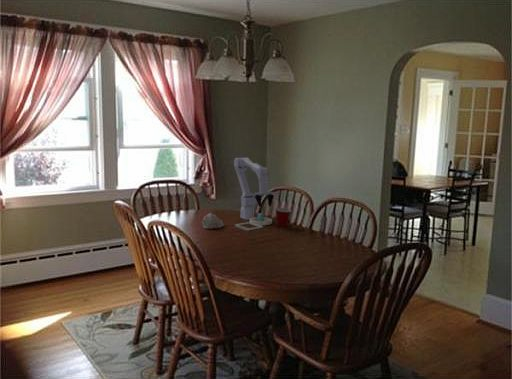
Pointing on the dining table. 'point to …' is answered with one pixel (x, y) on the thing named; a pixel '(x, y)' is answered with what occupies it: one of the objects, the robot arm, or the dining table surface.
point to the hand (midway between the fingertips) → (265, 206)
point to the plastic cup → (282, 216)
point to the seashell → (211, 222)
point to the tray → (248, 228)
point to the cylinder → (260, 217)
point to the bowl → (266, 222)
